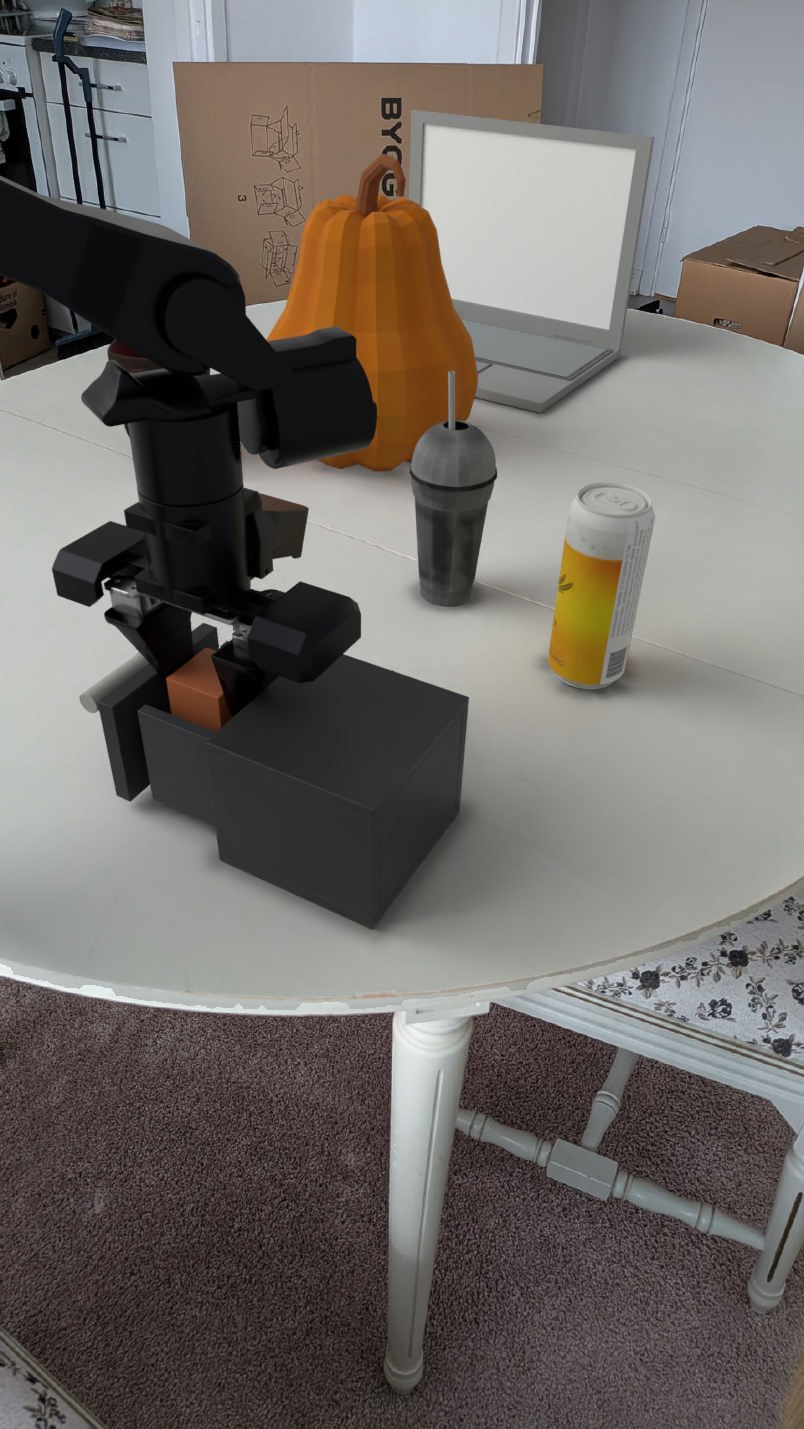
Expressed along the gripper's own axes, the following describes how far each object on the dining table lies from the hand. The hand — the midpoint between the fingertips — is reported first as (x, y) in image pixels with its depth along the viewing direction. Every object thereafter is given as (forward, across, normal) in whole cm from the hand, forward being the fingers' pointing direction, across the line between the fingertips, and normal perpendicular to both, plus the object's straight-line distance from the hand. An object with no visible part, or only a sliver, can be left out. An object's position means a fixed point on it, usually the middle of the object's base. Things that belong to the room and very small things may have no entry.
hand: (215, 710), depth 64 cm
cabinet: (+6, -10, 0) cm, 12 cm away
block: (+1, 0, 0) cm, 1 cm away
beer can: (+7, -16, -26) cm, 31 cm away
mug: (+7, +38, -40) cm, 55 cm away
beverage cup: (+7, -2, -30) cm, 31 cm away
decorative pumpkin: (+7, +20, -54) cm, 59 cm away
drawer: (+6, +2, 0) cm, 6 cm away
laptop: (+7, +25, -88) cm, 92 cm away
